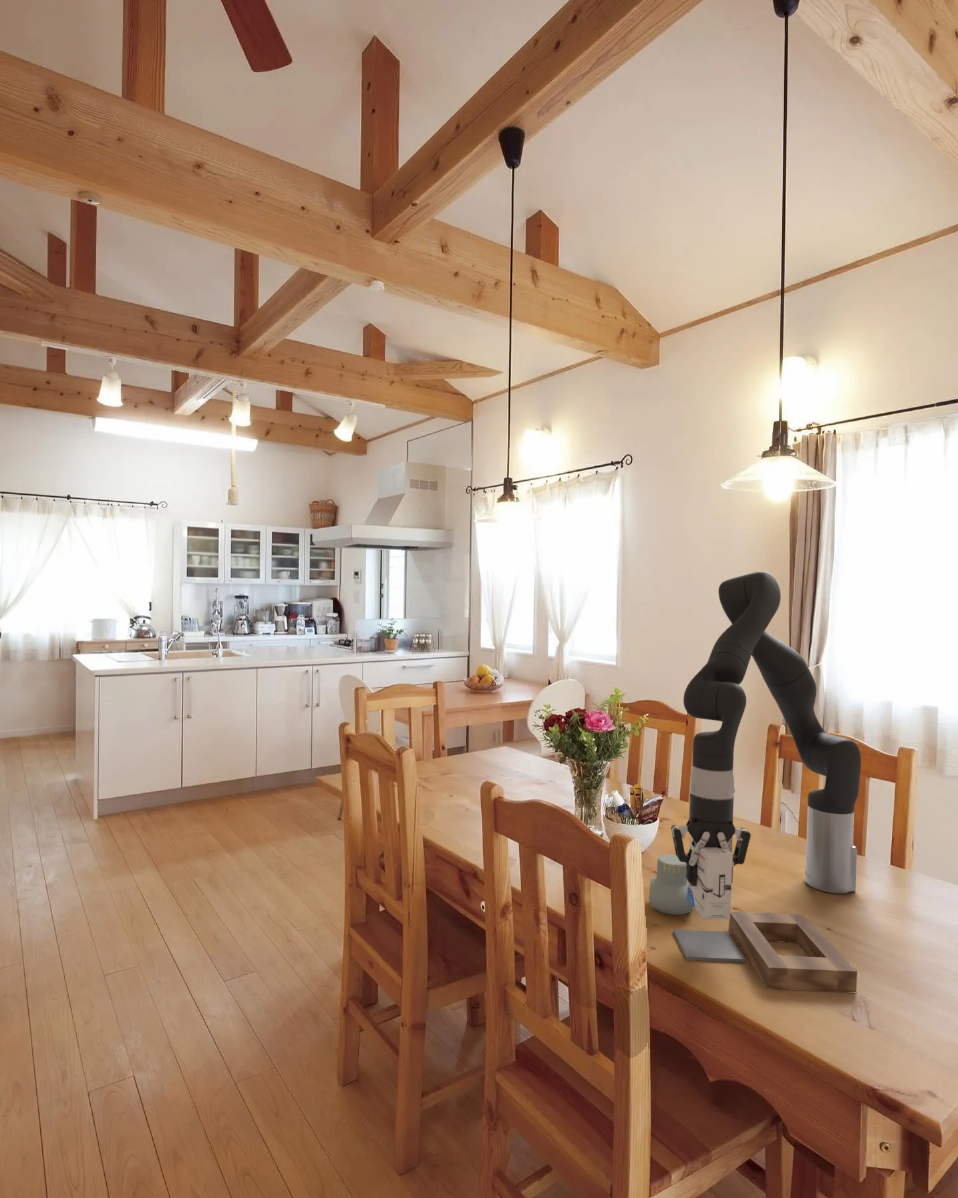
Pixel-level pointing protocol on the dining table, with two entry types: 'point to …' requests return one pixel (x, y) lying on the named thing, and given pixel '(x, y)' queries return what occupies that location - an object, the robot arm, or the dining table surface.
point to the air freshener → (670, 887)
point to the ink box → (712, 884)
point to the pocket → (791, 972)
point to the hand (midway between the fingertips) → (708, 884)
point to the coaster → (708, 945)
